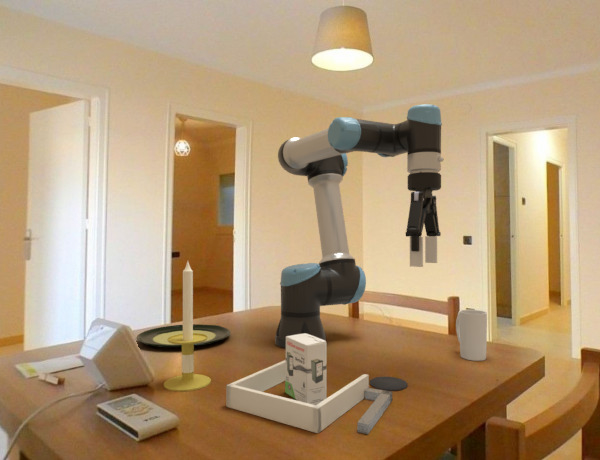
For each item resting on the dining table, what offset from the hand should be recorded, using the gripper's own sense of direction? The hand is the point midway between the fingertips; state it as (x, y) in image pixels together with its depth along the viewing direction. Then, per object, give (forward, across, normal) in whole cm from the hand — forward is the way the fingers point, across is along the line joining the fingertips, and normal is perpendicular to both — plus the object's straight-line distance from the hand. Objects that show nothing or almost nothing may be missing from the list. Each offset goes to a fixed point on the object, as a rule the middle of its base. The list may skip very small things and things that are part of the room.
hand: (424, 264), depth 99 cm
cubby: (+25, -28, +17) cm, 41 cm away
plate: (+26, -4, +72) cm, 76 cm away
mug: (+26, +20, -7) cm, 33 cm away
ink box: (+26, -26, +17) cm, 40 cm away
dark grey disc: (+25, -11, +5) cm, 28 cm away
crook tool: (+25, -27, +3) cm, 37 cm away
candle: (+26, -32, +43) cm, 59 cm away
